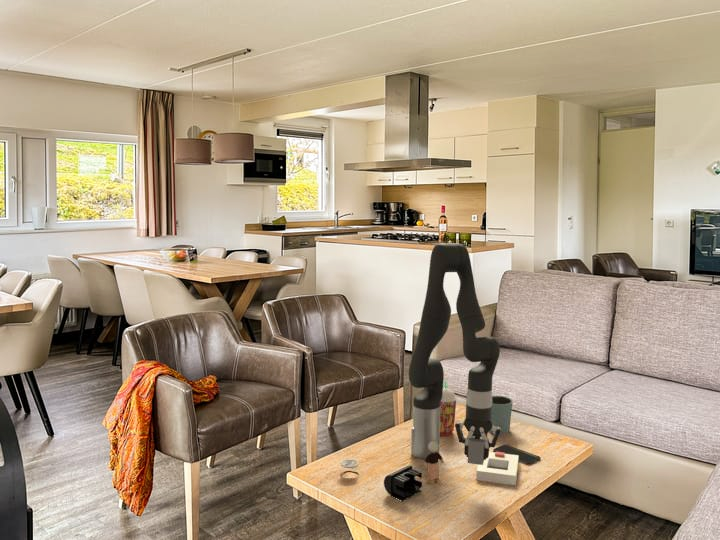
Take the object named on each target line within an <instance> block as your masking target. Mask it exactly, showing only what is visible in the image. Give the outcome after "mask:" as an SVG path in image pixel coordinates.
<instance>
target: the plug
mask: <svg viewBox="0 0 720 540" xmlns="http://www.w3.org/2000/svg"><path fill="white" fill-rule="evenodd" d="M484 447H485V445H484V441H483V440H482V437H479V436H472V437H471V439H469V442H468V457H467V463H468V464H472V465H477V466H478V465H483V463H484Z"/></svg>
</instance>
